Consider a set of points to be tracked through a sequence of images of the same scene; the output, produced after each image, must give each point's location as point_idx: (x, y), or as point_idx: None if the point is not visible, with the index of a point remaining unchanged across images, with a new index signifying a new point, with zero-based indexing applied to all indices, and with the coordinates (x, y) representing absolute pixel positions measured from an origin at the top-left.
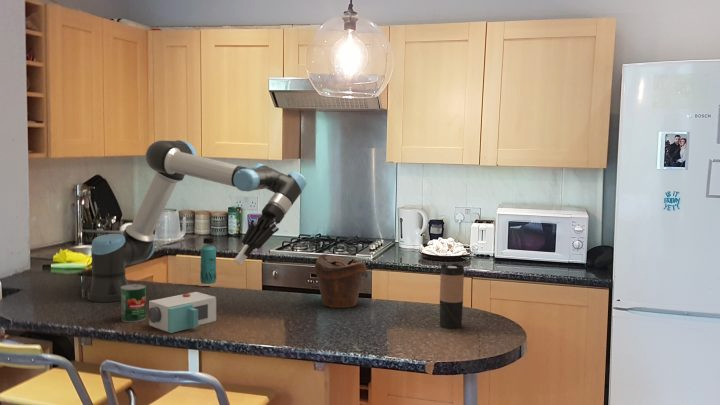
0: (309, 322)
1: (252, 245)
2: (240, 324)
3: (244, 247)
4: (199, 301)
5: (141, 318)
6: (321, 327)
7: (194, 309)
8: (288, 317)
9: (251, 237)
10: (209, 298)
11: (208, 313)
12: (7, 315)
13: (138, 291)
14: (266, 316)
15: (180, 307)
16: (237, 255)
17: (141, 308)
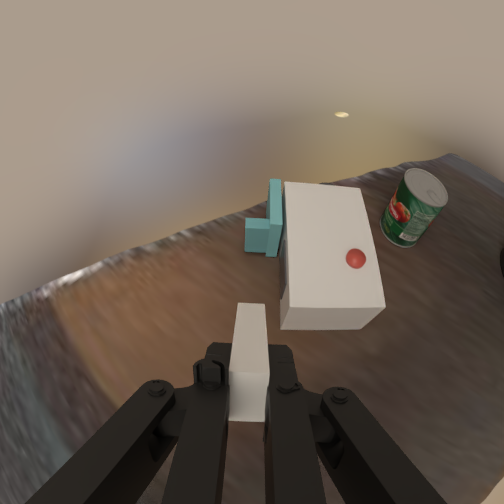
0: None
1: (191, 390)
2: None
3: (251, 355)
4: (287, 253)
5: (382, 227)
6: (50, 431)
7: (251, 223)
8: None
9: (270, 448)
10: (290, 284)
11: (283, 298)
12: (468, 161)
13: (403, 185)
14: None
15: (270, 198)
16: (262, 317)
17: (391, 215)
